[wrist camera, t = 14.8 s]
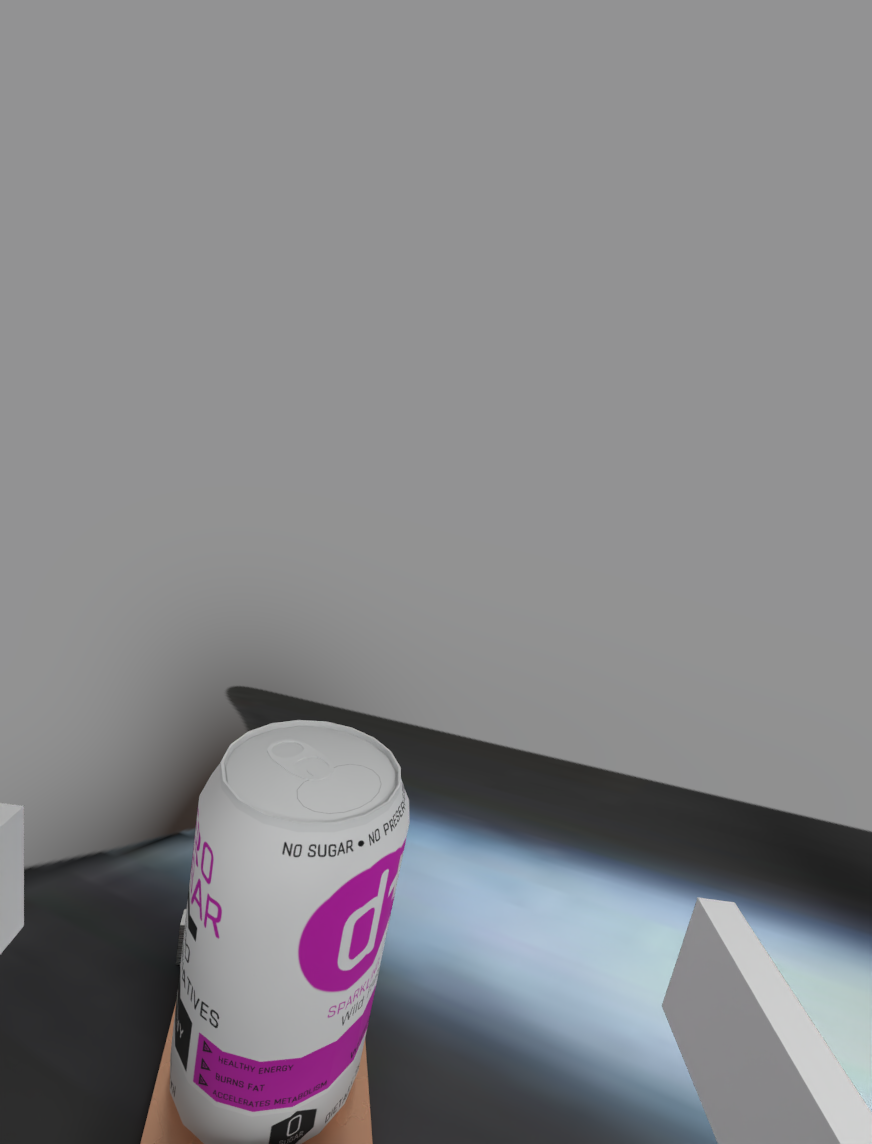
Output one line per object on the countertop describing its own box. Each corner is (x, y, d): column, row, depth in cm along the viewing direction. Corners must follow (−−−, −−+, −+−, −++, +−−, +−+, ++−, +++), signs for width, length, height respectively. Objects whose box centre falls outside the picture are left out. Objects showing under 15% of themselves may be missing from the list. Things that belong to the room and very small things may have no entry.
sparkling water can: (393, 1055, 27) (455, 776, 24) (243, 1233, 20) (301, 875, 17) (283, 946, 31) (322, 697, 28) (129, 1060, 25) (158, 752, 21)
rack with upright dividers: (355, 818, 43) (360, 789, 42) (389, 1226, 21) (401, 1177, 21) (216, 813, 41) (220, 782, 40) (95, 1264, 19) (99, 1211, 18)
